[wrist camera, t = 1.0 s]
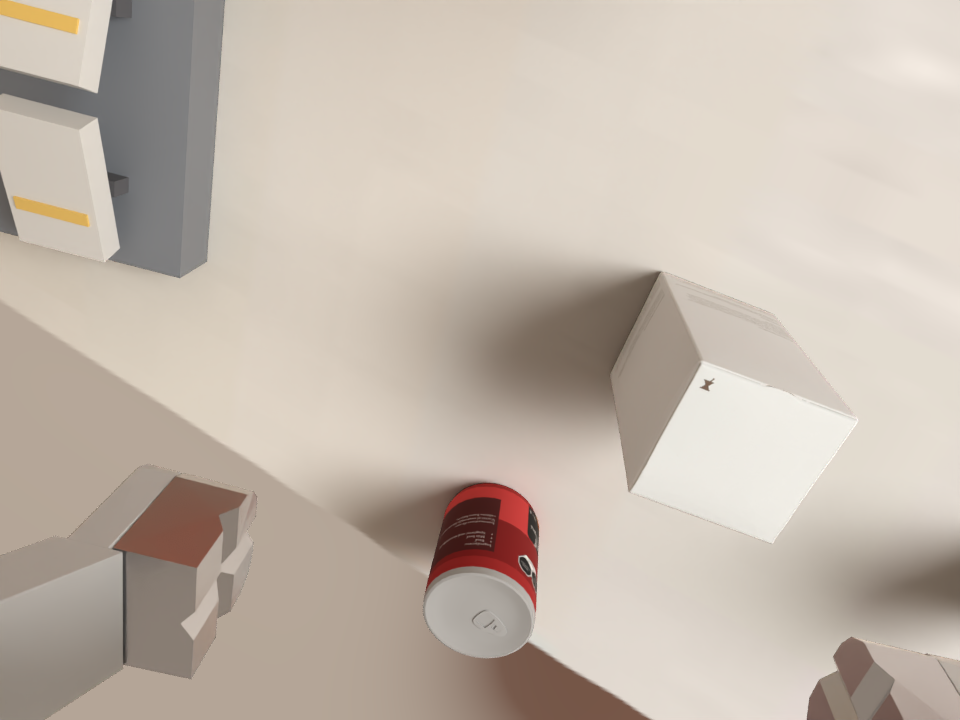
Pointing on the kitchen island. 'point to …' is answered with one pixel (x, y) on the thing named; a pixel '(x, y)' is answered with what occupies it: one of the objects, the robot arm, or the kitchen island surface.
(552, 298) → the kitchen island surface
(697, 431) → the supplement box
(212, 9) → the console
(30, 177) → the block
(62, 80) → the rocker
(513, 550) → the canned food
